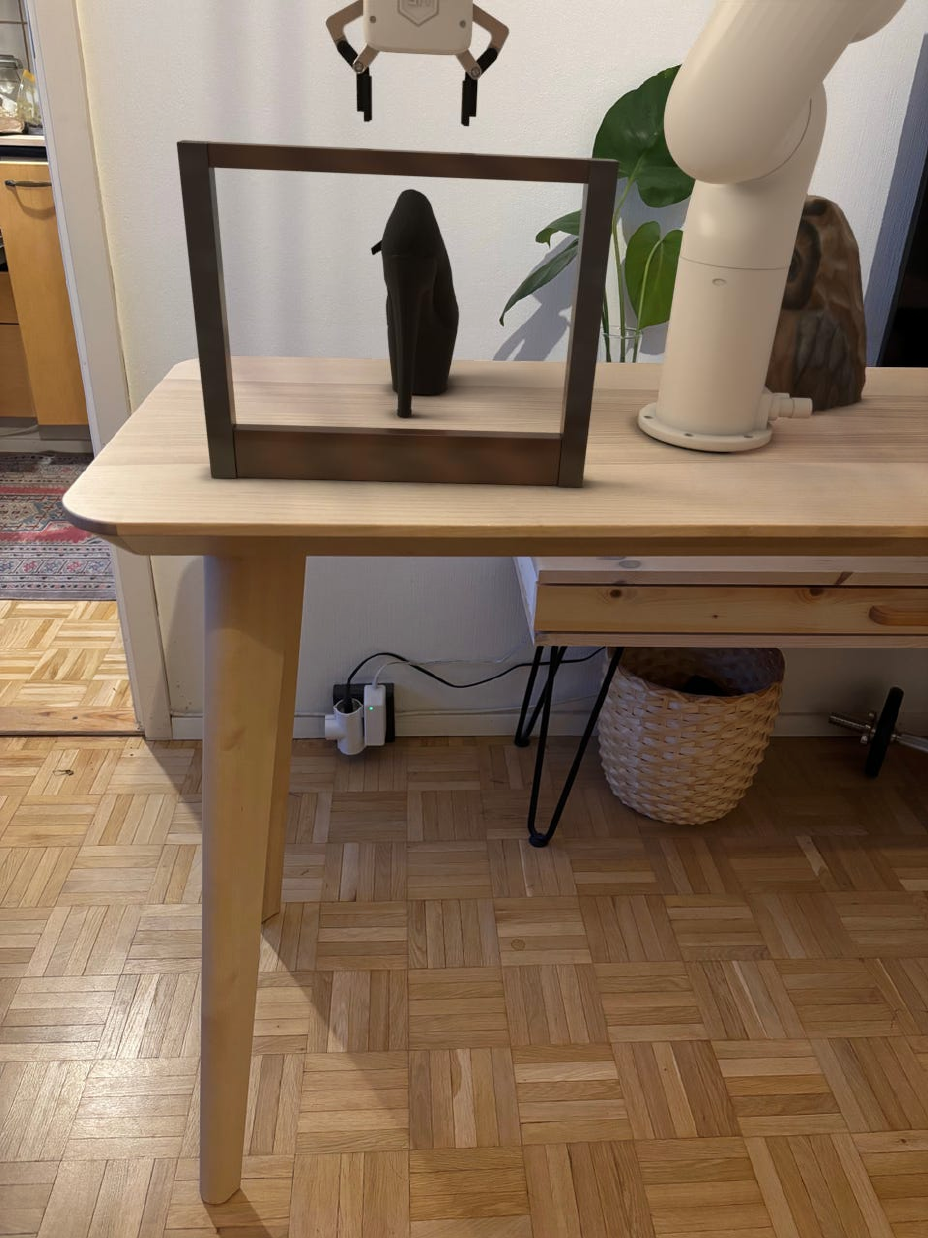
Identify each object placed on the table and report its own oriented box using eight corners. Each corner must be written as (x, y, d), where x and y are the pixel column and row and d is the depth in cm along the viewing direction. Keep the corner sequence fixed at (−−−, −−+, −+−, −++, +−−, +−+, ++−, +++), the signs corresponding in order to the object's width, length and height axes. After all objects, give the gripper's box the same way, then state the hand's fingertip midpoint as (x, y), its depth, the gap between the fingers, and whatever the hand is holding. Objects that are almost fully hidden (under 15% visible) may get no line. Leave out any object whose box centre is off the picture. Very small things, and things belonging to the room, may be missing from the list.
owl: (793, 418, 93) (843, 204, 83) (700, 386, 102) (734, 188, 92) (867, 401, 100) (922, 199, 90) (773, 372, 109) (813, 185, 98)
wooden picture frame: (578, 478, 77) (614, 158, 65) (582, 487, 75) (619, 161, 63) (215, 468, 76) (182, 139, 63) (211, 478, 74) (176, 141, 62)
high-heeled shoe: (461, 371, 103) (469, 174, 93) (441, 426, 87) (448, 194, 77) (391, 366, 104) (391, 169, 94) (357, 420, 87) (354, 189, 77)
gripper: (318, -106, 79) (325, 121, 88) (519, -94, 80) (506, 129, 89) (326, -93, 85) (331, 117, 94) (511, -82, 86) (500, 125, 95)
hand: (416, 123), depth 91 cm, fingers open, 9 cm apart
